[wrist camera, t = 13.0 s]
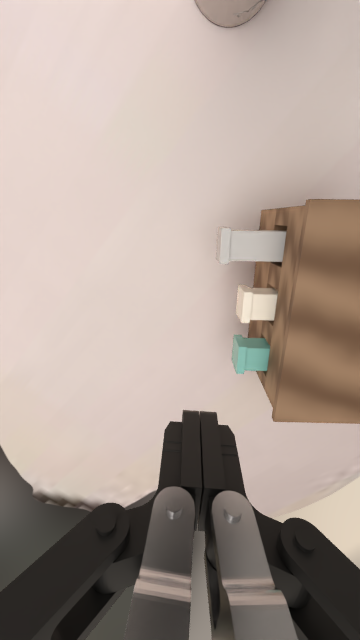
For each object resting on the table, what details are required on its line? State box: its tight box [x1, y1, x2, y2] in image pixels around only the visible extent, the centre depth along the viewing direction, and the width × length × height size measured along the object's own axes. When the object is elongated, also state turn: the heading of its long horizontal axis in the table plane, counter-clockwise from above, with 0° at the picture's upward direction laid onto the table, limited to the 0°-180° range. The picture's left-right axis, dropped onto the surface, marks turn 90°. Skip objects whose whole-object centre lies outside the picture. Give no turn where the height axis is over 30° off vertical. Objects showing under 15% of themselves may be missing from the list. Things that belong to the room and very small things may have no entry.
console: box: [248, 199, 360, 424], centre depth 34 cm, size 23×11×17 cm, turn 179°
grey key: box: [216, 227, 287, 264], centre depth 31 cm, size 4×9×4 cm, turn 89°
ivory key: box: [236, 285, 278, 323], centre depth 34 cm, size 4×9×4 cm, turn 89°
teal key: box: [232, 335, 270, 374], centre depth 36 cm, size 4×9×4 cm, turn 89°
